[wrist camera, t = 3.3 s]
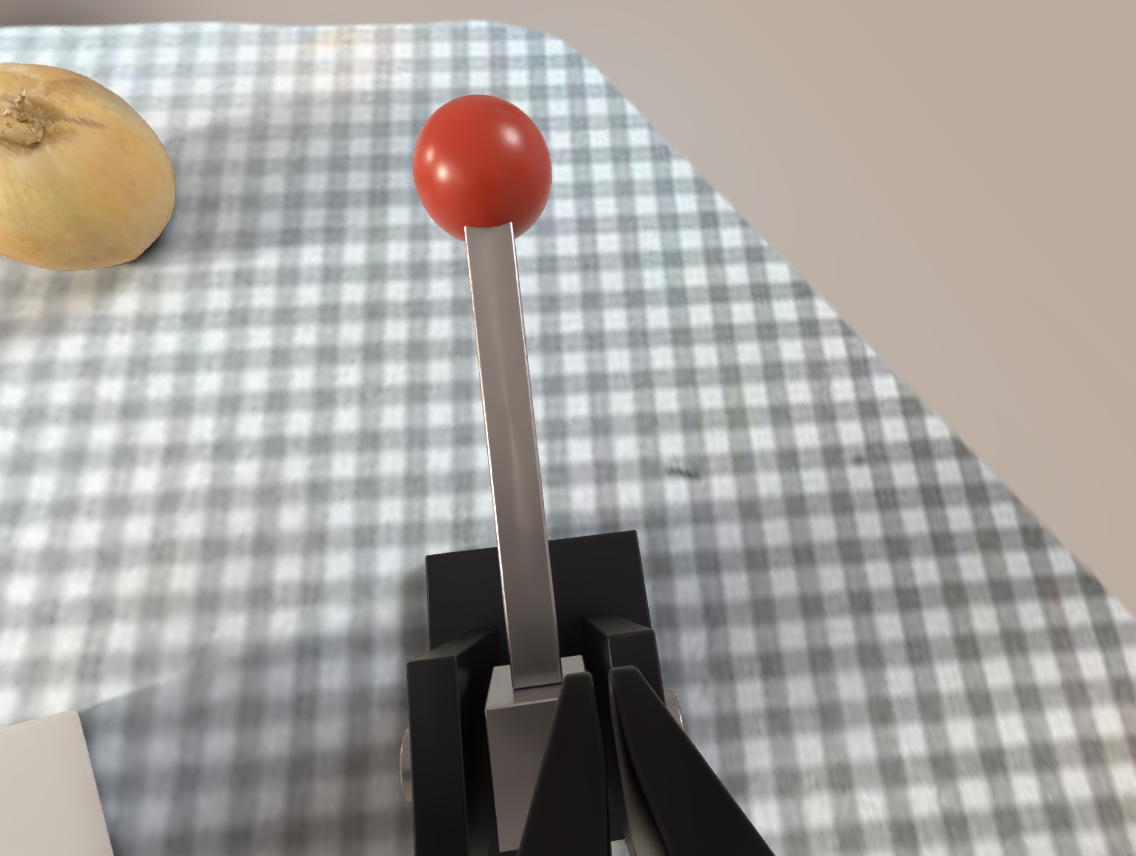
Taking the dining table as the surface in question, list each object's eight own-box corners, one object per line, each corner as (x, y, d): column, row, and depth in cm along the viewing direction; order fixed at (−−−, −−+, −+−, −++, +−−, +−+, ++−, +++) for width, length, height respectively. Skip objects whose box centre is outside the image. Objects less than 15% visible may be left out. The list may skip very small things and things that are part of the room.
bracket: (431, 557, 22) (326, 528, 12) (632, 532, 23) (701, 484, 12) (447, 852, 20) (331, 1150, 9) (675, 817, 20) (810, 1062, 10)
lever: (422, 151, 15) (390, 65, 12) (543, 141, 15) (545, 54, 12) (485, 780, 14) (469, 872, 11) (614, 760, 14) (636, 846, 11)
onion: (8, 304, 25) (-200, 195, 18) (30, 153, 27) (-147, 3, 20) (199, 286, 25) (69, 172, 18) (206, 139, 27) (92, -12, 20)
